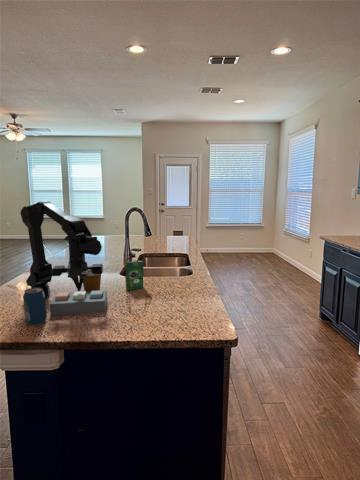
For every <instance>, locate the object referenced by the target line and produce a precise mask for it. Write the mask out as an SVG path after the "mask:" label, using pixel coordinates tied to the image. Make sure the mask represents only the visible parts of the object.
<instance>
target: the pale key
mask: <svg viewBox="0 0 360 480" xmlns="http://www.w3.org/2000/svg"><path fill="white" fill-rule="evenodd" d="M74 299H86V291H82V290H81V291H74V294H73V300H74Z"/></svg>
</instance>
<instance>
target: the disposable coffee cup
mask: <svg viewBox="0 0 360 480" xmlns="http://www.w3.org/2000/svg"><path fill="white" fill-rule="evenodd" d="M87 266H88V267H92V265H87ZM101 280H102V274H93V273H92V272H89V273H88V276H87V277H84V280H83V283H82V287H83V290H84V291H86V292H89V291H100V290H101Z"/></svg>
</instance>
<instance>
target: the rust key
mask: <svg viewBox="0 0 360 480" xmlns="http://www.w3.org/2000/svg"><path fill="white" fill-rule="evenodd" d="M69 293H70V292H69V291H67V292H62V291H61V292H56V294H57V295H56V294H55V295H56V296H55V295H54V297H55V300H56V301H57V300H68V299H69V297H70V295H69Z"/></svg>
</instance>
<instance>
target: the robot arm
mask: <svg viewBox="0 0 360 480" xmlns="http://www.w3.org/2000/svg"><path fill="white" fill-rule="evenodd" d="M44 216H47V217H48V218H50V220H51V219H52V220H53V221H54V222H56V223H57V224H58V225H60V227H61V230H62V231H63V232H64V233H65V235H67V236H65V237H64V239H63V240H64V241H67V242H68V255H69V260H68V264H67V267H66V266H65V265H63V264H62V265H61V264H60V265H54V267H53V265H52V263H49V262H48V260H47V259H46V253H45V246H44V241H43V240H44V239H43V234H42V233H43V232H42V225H43V223H44V220H45V219H44V218H45V217H44ZM20 217H21V220H22V223H23V224H24V225H25V226H26V228H27V231H28V237H29V243H30V251H31V258H32V263H31V265H30V268H29V270H30V271H29V275H28V277H27V278H26V280H25V283H26V286H28V287H30V288H36V287H39V288H42V289H43V291H44V293H45V300H46V299H48V298H49V296H50V295H51V290H50V285H49V283H51V282H52V277H60V276H61V275H62V274H65V273H67V278H70V279H71V280H72V282H73V283H74V286H75V287H76V290H77V292H80V291H82V287H83V280H84V277H87V276H88V273H89V272H92V273H93V274H101V275H102V274H103V273H104V264H103V263H93V264H92V265H91V266H92V267H88V266H89V265H88V262H87V261H86V255H92V256H98V255H99V254H100V253H101V251H102V247H103V246H102V243H101V241H100V240H99V239H98V237H97V236H95V235H94V236H93V234H92V233H91V231H90V229H89V227H88V226H87V225H86V221H84V220H83V219H81V218H79V217H77V216H72V215H69V214H67V213H66V212H64V211H63V210H61V209H60V208H58V207H57V206H56V205H54V204H53V203H52V202H51V201H49V200H44V201H43V200H41V201H40V200H39V201H38V202H36V203H34V204H31V205H28V206H23V207H22V208H21V209H20Z"/></svg>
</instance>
